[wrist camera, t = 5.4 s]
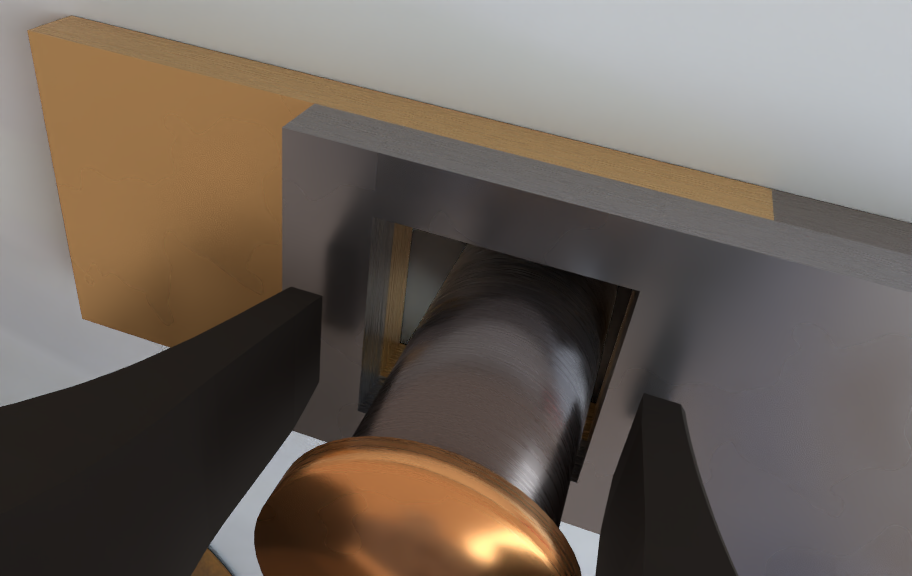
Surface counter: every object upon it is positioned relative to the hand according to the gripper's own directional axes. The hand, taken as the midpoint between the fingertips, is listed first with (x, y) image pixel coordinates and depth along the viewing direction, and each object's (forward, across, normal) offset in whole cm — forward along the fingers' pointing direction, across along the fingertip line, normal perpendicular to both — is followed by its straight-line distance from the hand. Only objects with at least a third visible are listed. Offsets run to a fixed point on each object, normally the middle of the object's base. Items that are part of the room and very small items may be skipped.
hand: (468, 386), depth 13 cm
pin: (+3, 0, 0) cm, 3 cm away
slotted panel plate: (+3, 0, 0) cm, 3 cm away
